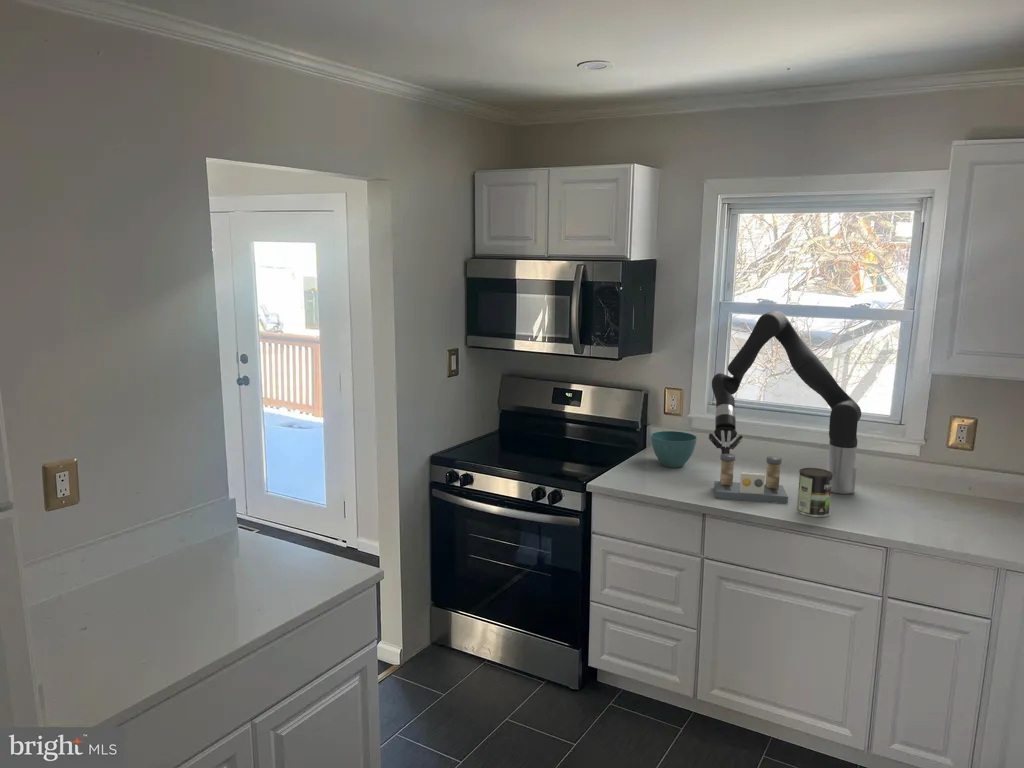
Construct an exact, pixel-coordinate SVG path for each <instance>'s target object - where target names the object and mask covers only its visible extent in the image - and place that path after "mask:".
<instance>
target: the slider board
mask: <svg viewBox="0 0 1024 768" xmlns="http://www.w3.org/2000/svg"><path fill="white" fill-rule="evenodd" d="M739 481H740V482H737V481H736V482H735V481H733V484H732V485H721V483H720V481H719V480H714V482H713V483H714V485H713V489H715V490H714V494H716V495H715V499H720V500H733V501H734V500H735V501H746V502H747V501H749V502H759V503H772V502H777V503H776V504H786V503H788V501H789V499H788V498H789V496H788V494H787V492H786V489H785V488H784V485H780V484H779V489H775V488H767V487H766V473H758V472H757V473H754V472H753V473H752V472H743V471H742V472H740V480H739Z"/></svg>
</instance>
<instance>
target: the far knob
mask: <svg viewBox="0 0 1024 768" xmlns="http://www.w3.org/2000/svg"><path fill="white" fill-rule="evenodd" d="M735 461H736V455H735V454H732V453H730V454H721V453H720V483H721V485H732V484H733V482H734V479H733V478H734V465H735Z"/></svg>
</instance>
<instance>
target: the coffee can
mask: <svg viewBox="0 0 1024 768" xmlns="http://www.w3.org/2000/svg"><path fill="white" fill-rule="evenodd" d="M798 473H799V477H798V478H799V479H798V489H797V491H798V492H797V504H796V512H797V513H799V514H801V515H804V516H805V517H806V516H807V517H813V518H824V517H827V516H829V515H830V505H831V503H830V502H831V493H832V492H831V483H832V476H833V474H832V472H830V471H827V469H823V468H820V467H819V468H817V467H804V468H803V467H802V468H800V469H799V472H798Z"/></svg>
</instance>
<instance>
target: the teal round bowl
mask: <svg viewBox="0 0 1024 768" xmlns="http://www.w3.org/2000/svg"><path fill="white" fill-rule="evenodd" d="M697 438H698V437H697V435H694V434H693V433H689V432H684V431H676V430H675V431H674V430H662V431H655V432H653V433H651V434H650V439H651V446H652V449H653V452H654V454H655V457H656V458H657V459H658V461H659V462H660V464H661V465H663V466H664V467H667V466H668V468H681V466H682V467H684V465H686V463H687V462H688V461H689V459H690V458H691V457H692V455H693V453H694V450H695V447H696V445H697V440H698V439H697Z"/></svg>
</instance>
